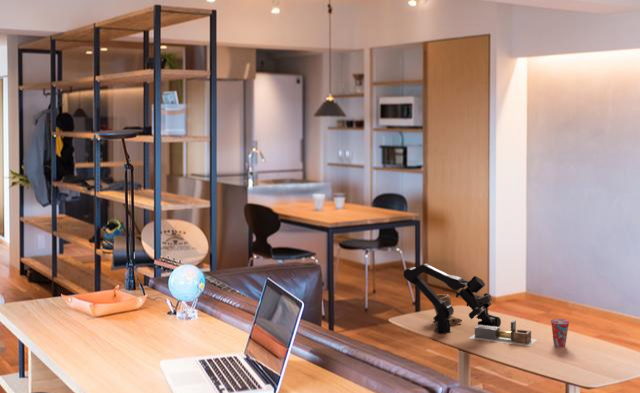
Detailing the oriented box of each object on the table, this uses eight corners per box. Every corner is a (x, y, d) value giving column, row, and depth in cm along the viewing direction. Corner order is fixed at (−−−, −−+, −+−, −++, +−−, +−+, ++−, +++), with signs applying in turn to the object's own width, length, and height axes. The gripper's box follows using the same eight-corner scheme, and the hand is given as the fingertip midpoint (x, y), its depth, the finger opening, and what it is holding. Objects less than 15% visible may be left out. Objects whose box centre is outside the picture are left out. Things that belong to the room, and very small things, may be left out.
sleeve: (474, 337, 395) (474, 327, 395) (478, 334, 401) (478, 324, 400) (495, 339, 390) (495, 330, 389) (499, 336, 395) (499, 327, 395)
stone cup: (427, 321, 429) (427, 293, 428) (445, 318, 435) (445, 290, 433) (444, 327, 416) (444, 298, 414) (462, 324, 422) (463, 296, 420)
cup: (569, 349, 374) (570, 323, 373) (551, 348, 376) (551, 323, 375) (567, 343, 383) (568, 318, 382) (549, 342, 385) (549, 318, 384)
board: (468, 338, 393) (468, 338, 393) (477, 332, 404) (477, 332, 404) (529, 346, 378) (529, 346, 378) (536, 340, 390) (536, 339, 390)
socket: (513, 342, 385) (513, 332, 385) (517, 338, 391) (517, 329, 391) (527, 344, 382) (527, 334, 382) (531, 340, 388) (531, 330, 388)
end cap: (501, 329, 411) (501, 316, 411) (491, 331, 407) (491, 318, 407) (487, 325, 420) (487, 312, 419) (477, 327, 416) (477, 314, 415)
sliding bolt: (489, 337, 392) (489, 319, 391) (492, 335, 396) (492, 317, 395) (524, 342, 384) (524, 323, 383) (526, 339, 388) (527, 321, 387)
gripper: (475, 292, 386) (497, 317, 382) (487, 285, 402) (508, 309, 398) (459, 306, 391) (481, 331, 387) (472, 298, 407) (493, 322, 403)
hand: (491, 323), depth 393 cm, fingers closed
